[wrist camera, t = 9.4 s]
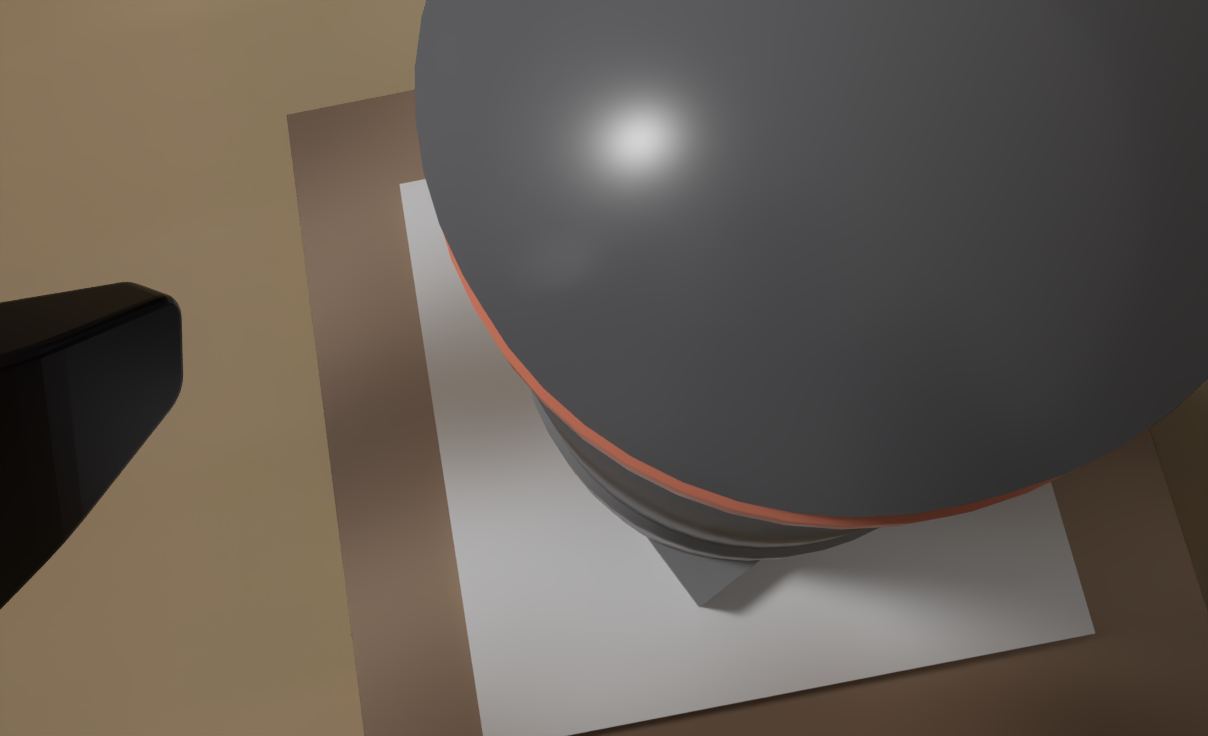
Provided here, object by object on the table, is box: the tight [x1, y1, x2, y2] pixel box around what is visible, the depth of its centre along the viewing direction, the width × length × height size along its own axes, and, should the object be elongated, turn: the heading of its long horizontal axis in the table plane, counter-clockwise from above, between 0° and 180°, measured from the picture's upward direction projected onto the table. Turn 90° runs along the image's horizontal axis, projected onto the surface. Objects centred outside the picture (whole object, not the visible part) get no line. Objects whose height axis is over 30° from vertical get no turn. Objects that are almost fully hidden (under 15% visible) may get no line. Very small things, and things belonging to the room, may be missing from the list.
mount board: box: [287, 90, 1208, 736], centre depth 17 cm, size 14×14×2 cm
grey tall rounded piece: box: [415, 0, 1208, 607], centre depth 11 cm, size 6×6×11 cm
